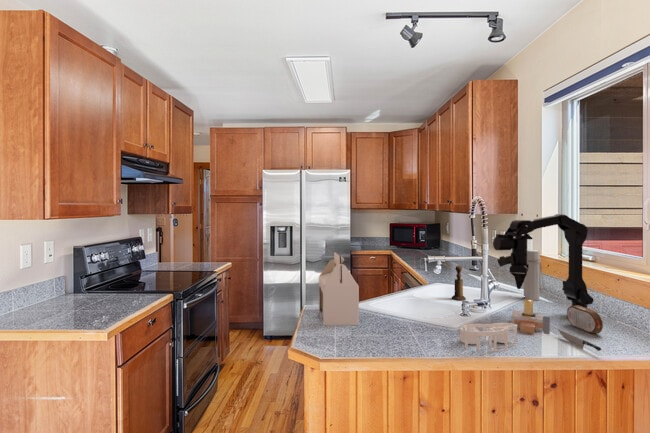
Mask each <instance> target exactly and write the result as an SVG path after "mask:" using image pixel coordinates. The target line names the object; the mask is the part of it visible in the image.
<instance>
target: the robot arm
mask: <svg viewBox="0 0 650 433" xmlns="http://www.w3.org/2000/svg"><path fill="white" fill-rule="evenodd" d="M556 225H557V227H558V228H559V229H560V230H561V231H563V233H564V238H565V240H566V242H567V243H568V275H567V276H568V277H567V279H566V280H563V281H562V291H563V294H564V295H565V296H566V299H567V301H571V306H576V305H579V306H582V307H585V308H588V309H589V305H593V303H594V300H595V299H594V297H592V296H591V295H590V294H589V292H588V288H587V284H586V282H585V280H584V279H583V245H584V243H585V242H586V240H587V237H588V231H589V230H588V227H587V226H586V225H585V224H584V223H580V222H578V221H577V220H575V219H574V218H573V219H572V218H571V217H569V216H568V215H566V214H564V213H562V214H560V213H557V214H554V215H550V216H545V217H540V218H535V219H526V220H525V219H522V220H521V219H519V220H518V219H517V220H515V219H513V220H512V221H511V222H510V224H509V227H508V228H507V230H506V231H505V233H504V234H501V233H496V234H495V237H494V239H493V241H492V246H493V248H494V250H496V251H511V253H510V255H506V256H504V255H503V256H499V258H497V260H496V261H497V264H498V266H499V267H504V266H506V265H509V264H510V267H509V273H510V274H511V275H512V276H513V277H514V280H515V285H516V289H517V290H521V289H522V286H523V285H524V279H525V277H526V275H527V272H528V269H527V268H529V263H528V262H527V255H528V252H527V250H528V240H533V237H532V236H531V235H530V233H532V232H533V231H535V230H537V229H542V228H547V227H551V226H556Z"/></svg>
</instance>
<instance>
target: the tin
mask: <svg viewBox="0 0 650 433" xmlns="http://www.w3.org/2000/svg"><path fill="white" fill-rule="evenodd" d="M566 312H567V314H566V316H567V320H568V322H569V323H570V325H571V326H573V327H574V328H577V329H579V330H581V331H582V332H586V333H588V334H600V333H601V332H602V330H603V326H604V323H603V319H602V318H601V315H600V314H599V313H598V312H597V311H595V310H593V309H590V308H589V307H588V308H585V307H582V306H579V305H576V306H572V305H570V306H569V307H568V308H567V310H566Z"/></svg>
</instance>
